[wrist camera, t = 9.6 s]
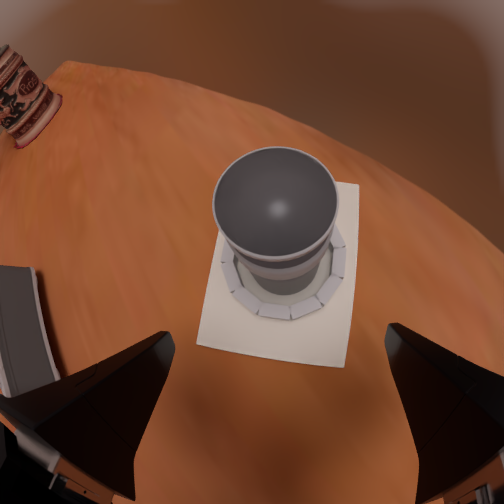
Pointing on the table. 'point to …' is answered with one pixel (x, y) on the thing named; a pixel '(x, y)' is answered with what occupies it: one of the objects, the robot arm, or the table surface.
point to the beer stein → (23, 99)
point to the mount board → (286, 301)
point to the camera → (22, 334)
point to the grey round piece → (277, 215)
